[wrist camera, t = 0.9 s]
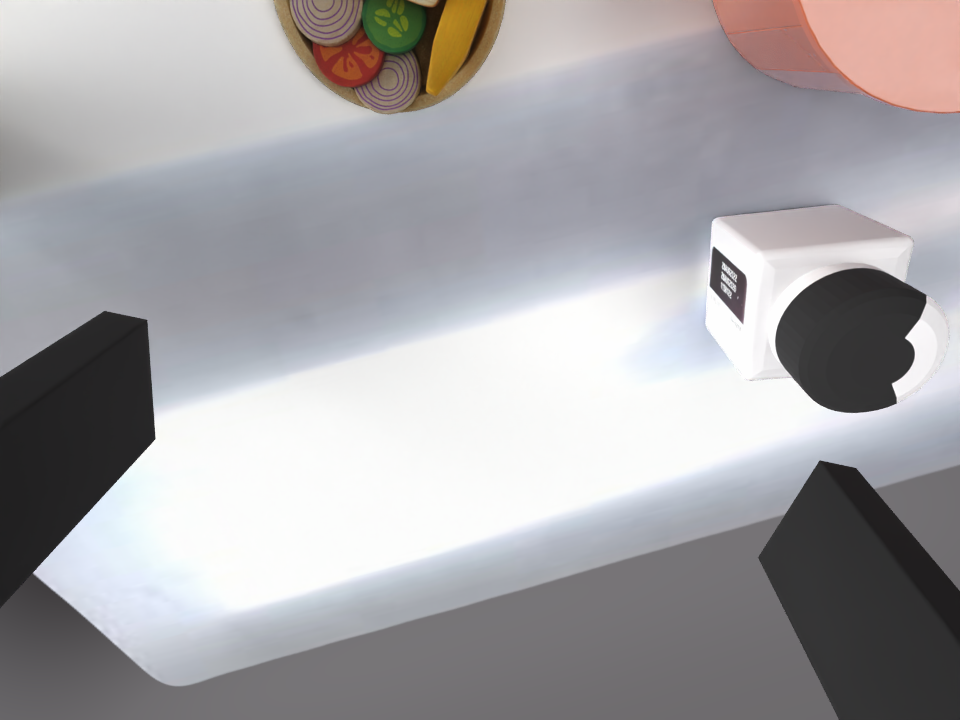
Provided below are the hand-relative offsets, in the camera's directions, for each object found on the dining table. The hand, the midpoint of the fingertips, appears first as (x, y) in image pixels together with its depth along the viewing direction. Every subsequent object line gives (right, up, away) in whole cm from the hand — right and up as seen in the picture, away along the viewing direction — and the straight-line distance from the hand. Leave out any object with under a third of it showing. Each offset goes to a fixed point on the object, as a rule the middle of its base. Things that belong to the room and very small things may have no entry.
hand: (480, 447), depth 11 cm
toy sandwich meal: (-5, +23, +19) cm, 30 cm away
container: (+19, +8, +26) cm, 33 cm away
